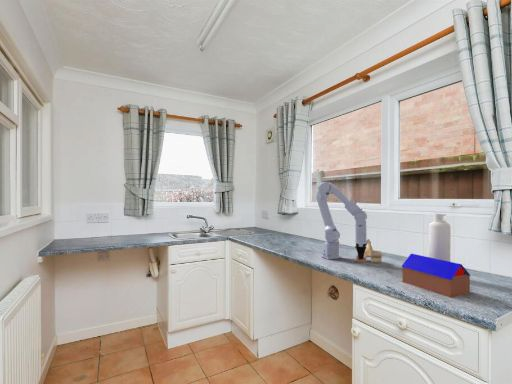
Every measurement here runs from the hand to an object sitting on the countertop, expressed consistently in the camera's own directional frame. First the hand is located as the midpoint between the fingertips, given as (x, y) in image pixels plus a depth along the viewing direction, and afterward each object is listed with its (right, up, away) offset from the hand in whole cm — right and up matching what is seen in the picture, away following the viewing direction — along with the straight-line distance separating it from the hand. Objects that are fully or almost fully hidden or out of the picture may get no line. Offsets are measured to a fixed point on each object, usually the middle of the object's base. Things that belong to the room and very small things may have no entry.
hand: (360, 257), depth 154 cm
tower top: (+7, +1, -3) cm, 8 cm away
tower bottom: (+7, -2, -3) cm, 8 cm away
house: (+13, -2, -43) cm, 45 cm away
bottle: (+25, -2, -28) cm, 38 cm away
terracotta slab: (0, -2, 0) cm, 2 cm away
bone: (+11, -3, +17) cm, 20 cm away
